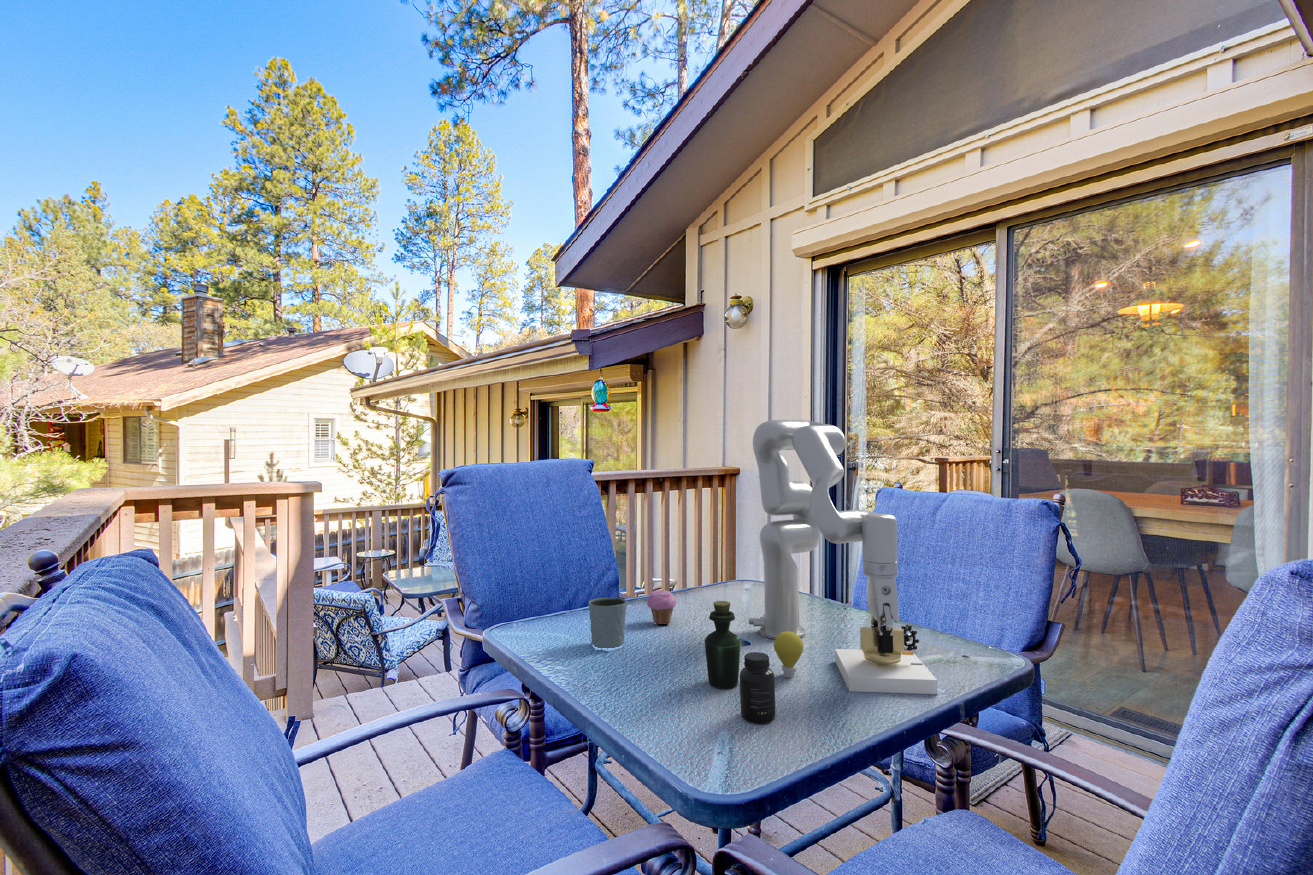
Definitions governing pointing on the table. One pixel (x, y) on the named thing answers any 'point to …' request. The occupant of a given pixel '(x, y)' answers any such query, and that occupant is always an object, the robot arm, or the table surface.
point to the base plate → (884, 674)
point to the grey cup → (607, 621)
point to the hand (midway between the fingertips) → (881, 646)
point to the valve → (909, 637)
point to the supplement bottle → (757, 689)
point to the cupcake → (661, 606)
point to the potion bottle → (722, 649)
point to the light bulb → (788, 651)
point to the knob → (871, 646)
